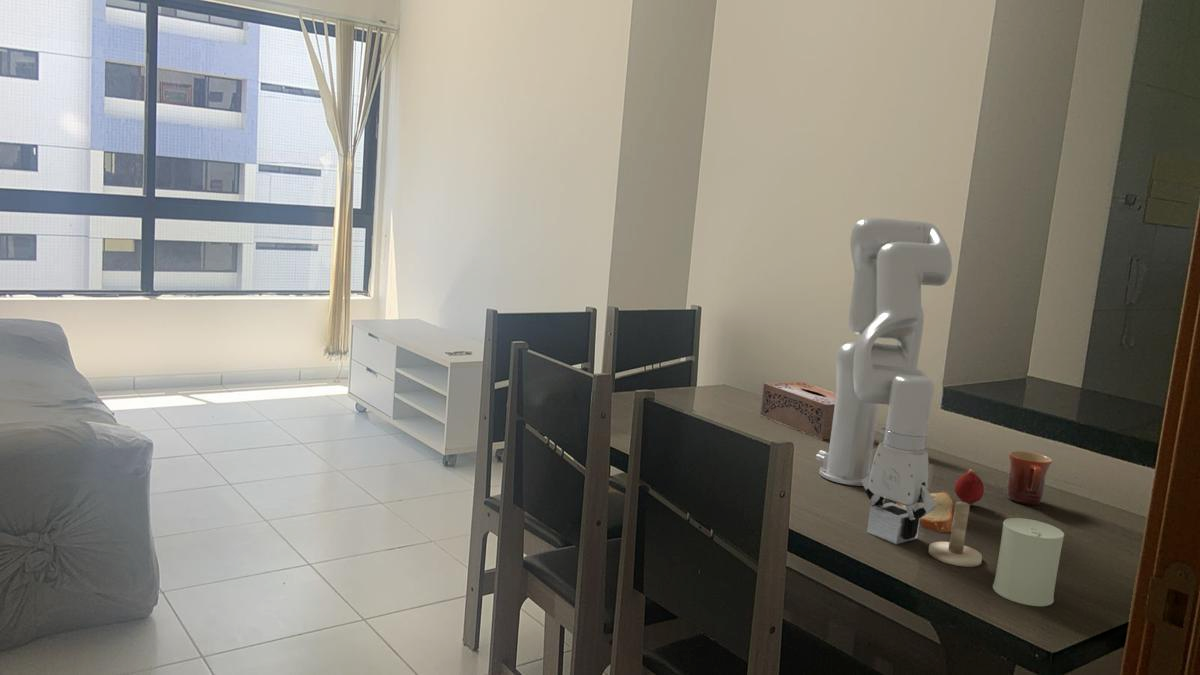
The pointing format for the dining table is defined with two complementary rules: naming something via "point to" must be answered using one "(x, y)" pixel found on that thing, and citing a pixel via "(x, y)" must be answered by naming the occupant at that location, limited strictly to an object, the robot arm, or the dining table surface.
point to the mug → (1027, 477)
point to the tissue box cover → (800, 407)
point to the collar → (888, 522)
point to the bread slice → (938, 513)
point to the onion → (969, 488)
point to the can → (1028, 561)
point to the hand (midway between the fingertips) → (892, 530)
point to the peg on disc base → (957, 542)
